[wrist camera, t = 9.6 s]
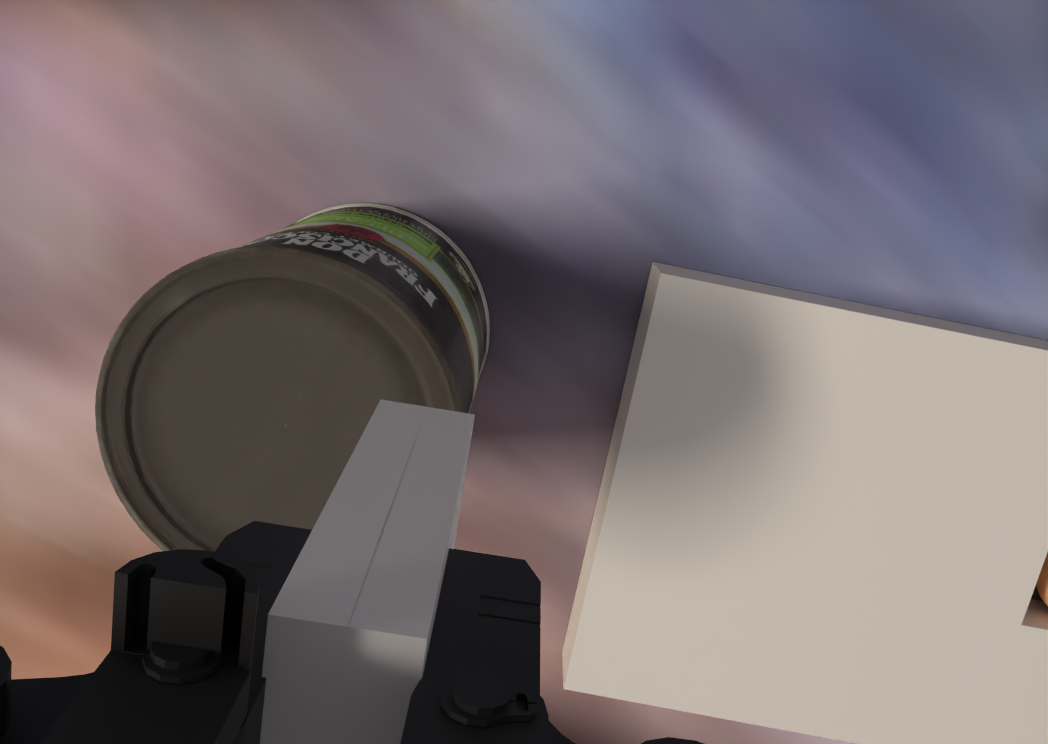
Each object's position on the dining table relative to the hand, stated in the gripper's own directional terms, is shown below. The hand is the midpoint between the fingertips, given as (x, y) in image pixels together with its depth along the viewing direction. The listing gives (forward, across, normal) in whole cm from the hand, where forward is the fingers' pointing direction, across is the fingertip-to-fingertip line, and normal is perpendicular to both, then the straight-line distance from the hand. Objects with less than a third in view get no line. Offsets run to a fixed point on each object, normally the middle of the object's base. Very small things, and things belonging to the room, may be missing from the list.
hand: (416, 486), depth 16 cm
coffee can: (+25, -5, -4) cm, 26 cm away
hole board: (+25, +20, -9) cm, 33 cm away
